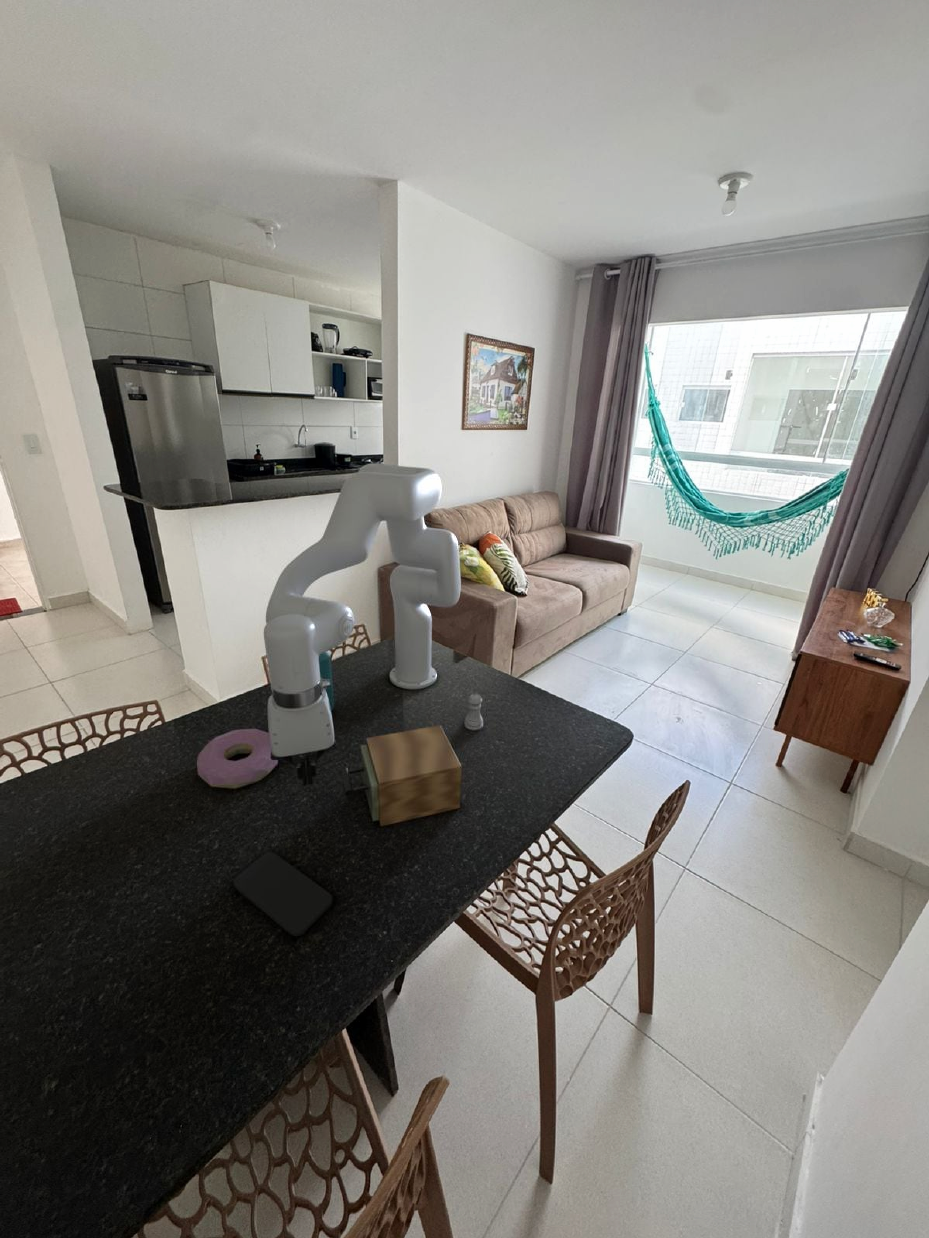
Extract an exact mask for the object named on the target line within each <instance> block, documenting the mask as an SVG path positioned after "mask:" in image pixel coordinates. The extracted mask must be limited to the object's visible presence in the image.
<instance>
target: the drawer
mask: <svg viewBox="0 0 929 1238" xmlns="http://www.w3.org/2000/svg"><path fill="white" fill-rule="evenodd" d="M360 761H361V762H360V763H361V766H360V767H355V768H350V769H349V768H347V767H343V768H341V769H340V776H341V780H342V785H343V791H344V795H345V796H346V797H351V796H352V795H353V794H355V793H357V792H363V791H365V795H366V798H367V799H366V800H367V804H368V807H369V811H370V815H371V819H372V821H373V822H376V821H379V820H380V816H379V787H378V782H377V777H376V775H375V771H374V768H373V764H372V761H371V757H370V754H369V750H368V747H367V744H366V743H365V744H360ZM357 773H361V780H362V783H363V785H361V786H355V787H353V785H352V780H351V776H350V775H352V774H357Z"/></svg>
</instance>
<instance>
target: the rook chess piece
mask: <svg viewBox="0 0 929 1238" xmlns="http://www.w3.org/2000/svg"><path fill="white" fill-rule="evenodd" d="M467 702H468V703H469V704H468V707H469V708H468V713H467V715H466V717H465V718H464V722H463V723H464V727H465V728H466V729H467V730H469V731H475V732H476V731H479V730H481V729H482V728H483V727H484V719H483V716H482V715H481V707H482V705H481V704H482V703H483V698H482V696H481V694H478V693H477V692H475V694H474V693H471V694H470V695H469V697H468V699H467Z"/></svg>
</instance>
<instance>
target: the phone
mask: <svg viewBox="0 0 929 1238" xmlns="http://www.w3.org/2000/svg"><path fill="white" fill-rule="evenodd" d="M232 883H233V887H234V889H235V890H236V891H237V892H239V893H240V894H241V895H242V896H243V897H245V898H246V899H247V900H249V902H250V903H252V904H253V905H254V906H256V907H257V908H258V909H259V910H260V911H262V912H263V913H264V914H265V915H267V916H268V917H269V918H270V919H271V920H273V921H274V922H275V923H276V924H277V925H278V926H279V927H281V928H282V929H283V930H285V931H286V932H287V933H288V934H289V935H291V936H292V937H300V936H302V935H303V934H304V933H305V932H306V931H308V929H309V928H310V927H311V926H312V925H313V924H315V922H316V921H318V920H319V918H320V917H322V915H323V914H325V912H326V911H327V910H328V909H329V908H330V907H331V906H332V904H333V895H332V894H331V893H330V892H329V891H328V890H326V889H325V888H323V887H322V886H321V885H320V884H318V883H316V882H315V881H313V880H312V879H311V878H309V877H308V876H307V875H305V874H304V873H303V872H301V871H300V870H299V869H297V867H296V868H295V866H293V865H291V864H290V863H289V862H288V861H287V860H285V859H284V858H283V857H280V856H279V855H278V854H277V853H275V852H272V851H269V852H266V853H264V854H263V855H261V856H260V857H259V858H258V859H256V860H255V861H254V862H252V863H251V864H250V865H249V866H247V868H245V869H244V870H243V871H241V872H240V873H239V874H237V876H235V877H234V879H233V882H232Z"/></svg>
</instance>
